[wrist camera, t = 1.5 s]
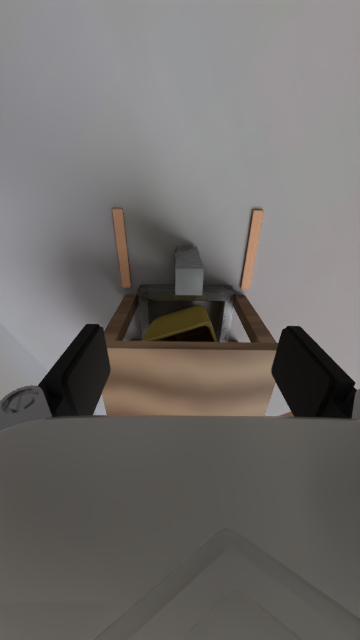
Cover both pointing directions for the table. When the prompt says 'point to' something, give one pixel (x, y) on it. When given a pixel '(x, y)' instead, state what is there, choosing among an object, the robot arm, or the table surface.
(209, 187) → the table surface
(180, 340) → the flower pot
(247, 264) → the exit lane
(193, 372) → the small wooden table
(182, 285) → the grey tray with upright
